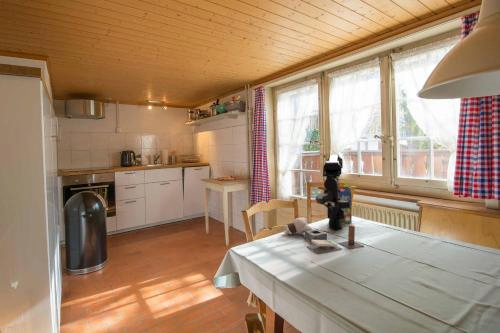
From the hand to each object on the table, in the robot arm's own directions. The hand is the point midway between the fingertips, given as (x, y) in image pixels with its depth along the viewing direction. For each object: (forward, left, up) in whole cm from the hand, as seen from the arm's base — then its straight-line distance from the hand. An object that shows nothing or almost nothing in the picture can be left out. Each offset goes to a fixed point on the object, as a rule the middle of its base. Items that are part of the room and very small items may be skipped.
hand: (332, 219), depth 126 cm
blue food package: (-26, -26, -12) cm, 39 cm away
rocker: (+8, +4, -10) cm, 13 cm away
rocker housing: (+8, +4, -12) cm, 15 cm away
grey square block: (+5, -7, -12) cm, 15 cm away
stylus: (-6, +6, -12) cm, 14 cm away
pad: (-6, +6, -12) cm, 15 cm away
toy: (+9, -18, -12) cm, 24 cm away
